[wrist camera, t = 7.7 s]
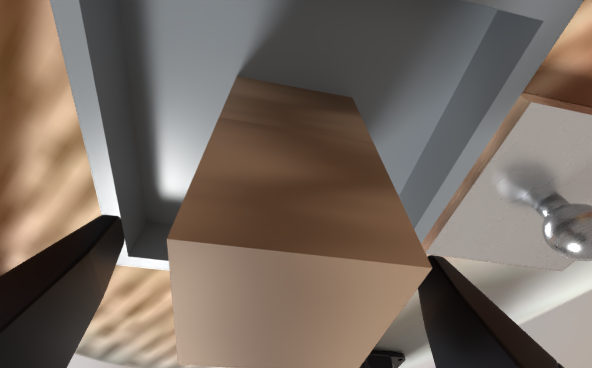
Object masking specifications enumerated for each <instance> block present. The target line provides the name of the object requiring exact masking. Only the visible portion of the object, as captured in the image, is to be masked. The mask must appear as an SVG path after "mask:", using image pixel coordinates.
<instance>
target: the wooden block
mask: <svg viewBox="0 0 592 368" xmlns="http://www.w3.org/2000/svg"><path fill="white" fill-rule="evenodd" d="M167 247H168V258H169V269H170V280H171V291H172V302H173V313H174V325H175V336H176V347H177V358H178V364H181V365H198V366H216V367H234V368H359V367H360V366H361V365H362V363H363V362H364V360H365V359H366V358H367V356H368V355H369V354H370V352H371V351H372V350H373V348H374V347H375V346H376V344H377V343H378V341H379V340H380V339H381V337H382V336H383V335H384V333H385V332H386V331H387V329H388V328H389V326H390V325H391V324H392V322H393V321H394V320H395V318H396V317H397V316H398V314H399V313H400V312H401V310H402V309H403V307H404V306H405V305H406V303H407V302H408V301H409V299H410V298H411V297H412V295H413V294H414V292H415V291H416V290H417V288H418V287H419V286H420V284H421V283H422V282H423V280H424V279H425V278H426V276H427V275H428V273H429V272H430V271H431V269H432V266H431V264H430V262H429V260H428V258H427V256H426V253H425V251H424V249H423V247H422V245H421V243H420V241H419V239H418V236H417V234H416V232H415V230H414V228H413V226H412V224H411V222H410V219H409V217H408V215H407V213H406V211H405V209H404V207H403V204H402V202H401V200H400V198H399V196H398V194H397V192H396V190H395V187H394V185H393V183H392V181H391V179H390V177H389V175H388V173H387V170H386V168H385V166H384V164H383V162H382V160H381V158H380V155H379V153H378V151H377V149H376V147H375V145H374V143H373V141H372V138H371V136H370V134H369V132H368V130H367V128H366V126H365V124H364V121H363V119H362V117H361V115H360V113H359V111H358V109H357V106H356V104H355V102H354V100H353V98H352V97H347V96H341V95H336V94H330V93H325V92H320V91H314V90H309V89H303V88H298V87H293V86H287V85H282V84H276V83H271V82H266V81H260V80H255V79H249V78H244V77H239V76H236V79H235V81H234V83H233V86H232V88H231V90H230V93H229V95H228V97H227V100H226V102H225V104H224V107H223V109H222V111H221V114H220V116H219V118H218V121H217V123H216V125H215V128H214V130H213V132H212V135H211V137H210V139H209V142H208V144H207V146H206V149H205V151H204V153H203V156H202V158H201V160H200V163H199V165H198V167H197V170H196V172H195V174H194V177H193V179H192V181H191V184H190V186H189V188H188V191H187V193H186V195H185V198H184V200H183V202H182V205H181V207H180V209H179V212H178V214H177V216H176V219H175V221H174V223H173V226H172V228H171V230H170V233H169V235H168V237H167Z"/></svg>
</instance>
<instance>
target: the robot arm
mask: <svg viewBox="0 0 592 368" xmlns="http://www.w3.org/2000/svg"><path fill="white" fill-rule="evenodd" d="M124 241H125V236H124V231H123V226H122V221H121V218H120V217H119V216H114V215H106V214H105V215H101V216H99V217H97V218H96V219H94V220H92V221H91V222H89V223H87V224H86V225H84V226H82V227H81V228H79V229H78V230H76V231H74V232H73V233H71V234H69V235H68V236H66V237H64V238H63V239H61V240H59V241H58V242H56V243H54V244H53V245H51V246H49V247H48V248H46V249H44V250H43V251H41V252H39V253H38V254H36V255H35V256H33V257H31V258H30V259H28V260H26V261H25V262H23V263H21V264H20V265H18V266H16V267H15V268H13V269H11V270H10V271H8V272H6V273H5V274H3V275H1V276H0V368H67V366H68V364H69V362H70V360H71V358H72V356H73V355H74V353H75V351H76V349H77V347H78V345H79V343H80V341H81V339H82V337H83V336H84V334H85V332H86V330H87V328H88V326H89V324H90V322H91V320H92V318H93V316H94V314H95V313H96V311H97V309H98V307H99V305H100V303H101V301H102V299H103V296H104V294H105V292H106V289H107V287H108V284H109V282H110V279H111V276H112V274H113V271H114V269H115V266H116V263H117V261H118V258H119V256H120V253H121V250H122V248H123V245H124ZM427 258H428V260H429V262H430V264H431V266H432V269H431V271H430V272H429V273H428V275H427V276H426V278H425V279H424V280H423V282H422V283H421V284H420V286H419V287H418V292H419V298H420V304H421V310H422V315H423V321H424V325H425V330H426V334H427V337H428V341H429V344H430V348H431V352H432V355H433V359H434V362H435V366H436V368H564V367H563V366H562V365H561V364H559V363H557V361H556V360H555V359H554V358H553V357H552V356H551V355H550V354H548V353H547V352H546V351H545V350H544V349H543V348H542V347H541V346H540V345H539V344H538V343H536V342H535V341H534V340H533V339H532V338H531V337H530V336H529V335H528V334H527V333H526V332H525V331H523V330H522V329H521V328H520V327H519V326H518V325H517V324H516V323H515V322H514V321H513V320H511V319H510V318H509V317H508V316H507V315H506V314H505V313H504V312H503V311H502V310H501V309H499V308H498V307H497V306H496V305H495V304H494V303H493V302H492V301H491V300H490V299H488V298H487V297H486V296H485V295H484V294H483V293H482V292H481V291H480V290H479V289H478V288H476V287H475V286H474V285H473V284H472V283H471V282H470V281H469V280H468V279H467V278H466V277H464V276H463V275H462V274H461V273H460V272H459V271H458V270H457V269H456V268H455V267H454V266H452V265H451V264H450V263H449V262H448V261H447V260H446V259H445V258H443V257H441V256H434V255H430V256H428V257H427ZM404 361H405V356H404V354H403V353H392V352H378V351H371V352H370V354H369V355H368V356H367V358H366V359H365V360H364V362H363V363H362V365H361V366H360V367H359V368H398V367H399V366H400V365H401V364H402V363H403V362H404Z"/></svg>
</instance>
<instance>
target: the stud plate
mask: <svg viewBox="0 0 592 368" xmlns="http://www.w3.org/2000/svg"><path fill="white" fill-rule="evenodd" d="M421 245H422V247H423V249H424V251H425V253H426V254H431V255H439V256H447V257H455V258H463V259H471V260H479V261H487V262H495V263H503V264H511V265H518V266H526V267H534V268H542V269H550V270H558V271H563V270H564V269H565V268H566V267H567V266H569V265H570V264H571V263H572V262H573V261H574V260H580V261H590V260H592V108H591V107H586V106H581V105H577V104H572V103H568V102H563V101H559V100H554V99H550V98H545V97H541V96H536V95H531V94H527V93H522V94H521V95H520V97H519V98H518V100H517V101H516V103H515V104H514V106H513V107H512V109H511V110H510V112H509V113H508V115H507V116H506V118H505V119H504V121H503V122H502V124H501V125H500V127H499V128H498V130H497V131H496V132H495V134H494V135H493V137H492V138H491V140H490V141H489V143H488V144H487V146H486V147H485V149H484V150H483V152H482V153H481V155H480V156H479V158H478V159H477V161H476V162H475V164H474V165H473V167H472V168H471V170H470V171H469V173H468V174H467V176H466V177H465V179H464V180H463V182H462V183H461V185H460V186H459V188H458V189H457V191H456V192H455V194H454V195H453V197H452V198H451V200H450V201H449V203H448V204H447V206H446V207H445V209H444V210H443V212H442V213H441V215H440V216H439V218H438V219H437V221H436V222H435V224H434V225H433V227H432V228H431V230H430V231H429V233H428V234H427V236H426V237H425V239H424V240H423V242H422V243H421Z"/></svg>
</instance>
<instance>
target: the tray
mask: <svg viewBox="0 0 592 368" xmlns="http://www.w3.org/2000/svg"><path fill="white" fill-rule="evenodd" d="M583 1H584V0H50V3H51V7H52V12H53V16H54V20H55V24H56V28H57V32H58V36H59V40H60V45H61V49H62V53H63V57H64V61H65V65H66V69H67V74H68V78H69V82H70V86H71V90H72V94H73V98H74V103H75V107H76V111H77V115H78V119H79V123H80V127H81V131H82V136H83V140H84V144H85V148H86V152H87V156H88V160H89V165H90V169H91V173H92V177H93V181H94V185H95V189H96V194H97V198H98V202H99V206H100V210H101V214H102V215H105V214H106V215H114V216H119V217H120V218H121V221H122V226H123V231H124V236H125V241H124V245H123V248H122V250H121V253H120V256H119V258H118V261H117V263H116V265H121V266H130V267H140V268H150V269H159V270H169V271H170V269H169V258H168V247H167V237H168V235H169V233H170V230H171V228H172V226H173V223H174V221H175V219H176V216H177V214H178V212H179V209H180V207H181V205H182V202H183V200H184V198H185V195H186V193H187V191H188V188H189V186H190V184H191V181H192V179H193V177H194V174H195V172H196V170H197V167H198V165H199V163H200V160H201V158H202V156H203V153H204V151H205V149H206V146H207V144H208V142H209V139H210V137H211V135H212V132H213V130H214V128H215V125H216V123H217V121H218V118H219V116H220V114H221V111H222V109H223V107H224V104H225V102H226V100H227V97H228V95H229V93H230V90H231V88H232V86H233V83H234V81H235V79H236V76H239V77H244V78H249V79H255V80H260V81H266V82H271V83H276V84H282V85H287V86H293V87H298V88H303V89H309V90H314V91H320V92H325V93H330V94H336V95H341V96H347V97H352V98H353V100H354V102H355V104H356V106H357V109H358V111H359V113H360V115H361V117H362V119H363V121H364V124H365V126H366V128H367V130H368V132H369V134H370V136H371V138H372V141H373V143H374V145H375V147H376V149H377V151H378V153H379V155H380V158H381V160H382V162H383V164H384V166H385V168H386V170H387V173H388V175H389V177H390V179H391V181H392V183H393V185H394V187H395V190H396V192H397V194H398V196H399V198H400V200H401V202H402V204H403V207H404V209H405V211H406V213H407V215H408V217H409V219H410V222H411V224H412V226H413V228H414V230H415V232H416V234H417V236H418V239H419V241H420V243H422V242H423V240H424V239H425V237H426V236H427V234H428V233H429V231H430V230H431V228H432V227H433V225H434V224H435V222H436V221H437V219H438V218H439V216H440V215H441V213H442V212H443V210H444V209H445V207H446V206H447V204H448V203H449V201H450V200H451V198H452V197H453V195H454V194H455V192H456V191H457V189H458V188H459V186H460V185H461V183H462V182H463V180H464V179H465V177H466V176H467V174H468V173H469V171H470V170H471V168H472V167H473V165H474V164H475V162H476V161H477V159H478V158H479V156H480V155H481V153H482V152H483V150H484V149H485V147H486V146H487V144H488V143H489V141H490V140H491V138H492V137H493V135H494V134H495V132H496V131H497V130H498V128H499V127H500V125H501V124H502V122H503V121H504V119H505V118H506V116H507V115H508V113H509V112H510V110H511V109H512V107H513V106H514V104H515V103H516V101H517V100H518V98H519V97H520V95H521V94H522V92H523V91H524V89H525V88H526V86H527V85H528V83H529V82H530V80H531V79H532V77H533V76H534V74H535V73H536V71H537V70H538V68H539V67H540V65H541V64H542V62H543V61H544V59H545V58H546V56H547V55H548V53H549V52H550V50H551V49H552V47H553V46H554V44H555V43H556V41H557V40H558V38H559V37H560V35H561V34H562V32H563V31H564V29H565V28H566V26H567V25H568V23H569V22H570V20H571V19H572V17H573V16H574V14H575V13H576V11H577V10H578V8H579V7H580V5H581V4H582V2H583Z"/></svg>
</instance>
